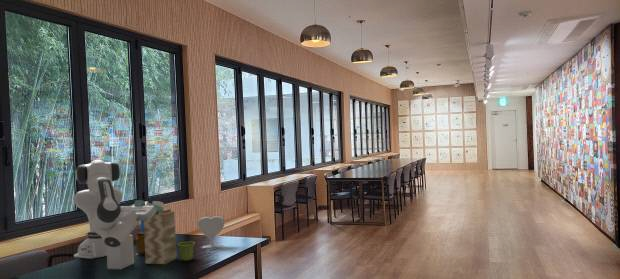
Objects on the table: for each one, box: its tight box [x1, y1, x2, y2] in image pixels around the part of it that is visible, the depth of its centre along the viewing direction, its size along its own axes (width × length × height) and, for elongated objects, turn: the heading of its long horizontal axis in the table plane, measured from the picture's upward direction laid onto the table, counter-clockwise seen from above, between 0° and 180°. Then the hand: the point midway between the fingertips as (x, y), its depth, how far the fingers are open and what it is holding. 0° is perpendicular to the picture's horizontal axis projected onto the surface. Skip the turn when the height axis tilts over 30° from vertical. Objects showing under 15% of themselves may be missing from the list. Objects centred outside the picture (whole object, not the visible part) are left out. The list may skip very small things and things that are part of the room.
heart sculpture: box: [197, 215, 225, 249], centre depth 276 cm, size 16×5×18 cm, turn 97°
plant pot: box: [176, 241, 196, 261], centre depth 248 cm, size 9×9×9 cm
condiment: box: [134, 231, 145, 256], centre depth 267 cm, size 7×8×12 cm
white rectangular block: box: [106, 234, 135, 270], centre depth 240 cm, size 8×11×16 cm
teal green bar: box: [134, 199, 164, 213], centre depth 238 cm, size 4×21×6 cm, turn 167°
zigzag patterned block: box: [144, 208, 177, 265], centre depth 247 cm, size 12×11×28 cm
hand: (143, 202), depth 233 cm, fingers closed on teal green bar, 3 cm apart
